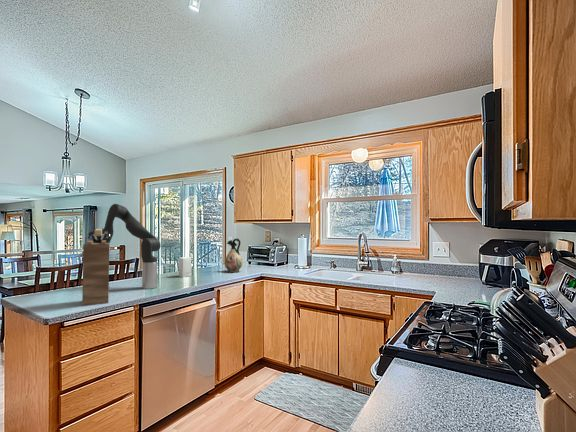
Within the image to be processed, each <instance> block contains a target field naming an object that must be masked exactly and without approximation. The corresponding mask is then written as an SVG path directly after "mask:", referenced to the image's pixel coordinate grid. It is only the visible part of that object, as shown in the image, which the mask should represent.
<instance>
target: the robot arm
mask: <svg viewBox="0 0 576 432" xmlns="http://www.w3.org/2000/svg"><path fill="white" fill-rule="evenodd" d="M115 218H117V219H120V220H122V221H123V222H124V224H125V228H126V230H127V231H128V232H129V234H131V235H132V236H133V237H136V238H138V239H140V240H142V241H141V244H140V253H141V254H140V255H141V260H142V262H141V263H142V264H141V270H142V273H141V274H142V275H141V276H142V277H141V289H146V290H147V289H150V290H151V289H157V288H158V279H159V278H158V257H156V256H155V255H153V254H152V252H157V251H160V249H161V241H160V240H159V239H158V238H157V237H156V236H154V235H153V234H152V233H151V232H149V231H148V229H147V228H145V226H143V225H142V223H141V222H140V221H139V220H138V219H136V218H135V217H134V216H133V215H132V214H131V212H130V211H129V210H128V208H127V207H125V206H123V205H120V204H118V203H113V204H111V205H110V207H109V208H108V213H107V216H106V220H105V224H104V227H103V228H101V229H102V236H94V235H95V229H97V228H95V227H94V228H93V231H90V232H88V233H87V236H86V239H91V240H93V243H101V241H102V240H106V243H109V244H110V243H111V241H112V238H113V236H114V222H115Z"/></svg>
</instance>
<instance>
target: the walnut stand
mask: <svg viewBox="0 0 576 432" xmlns="http://www.w3.org/2000/svg"><path fill="white" fill-rule="evenodd" d="M82 246H83V248H82V249H83V250H82V251H83V252H82V253H83V256H82V294H81V295H82V297H81V299H82V301H81V302H82V303H81V306H89V305H92V306H93V305H100V304H109V298H110V297H109V288H110V286H109V285H110V281H109V280H110V243H106V240H102V241H101V243H93V239H91V240H87V242H85V243H84V244H83V245H82Z"/></svg>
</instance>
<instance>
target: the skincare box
mask: <svg viewBox="0 0 576 432" xmlns="http://www.w3.org/2000/svg"><path fill="white" fill-rule="evenodd" d="M178 277H180V278H187V277H192V256H191V257H190V256H183V257H178Z"/></svg>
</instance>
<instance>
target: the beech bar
mask: <svg viewBox="0 0 576 432" xmlns="http://www.w3.org/2000/svg"><path fill="white" fill-rule="evenodd" d="M94 229H95V228H94ZM94 236H102V228H96V229H95V235H94Z"/></svg>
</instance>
